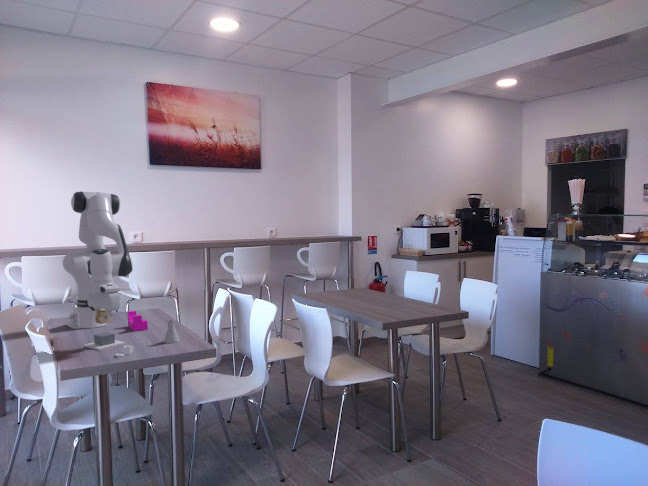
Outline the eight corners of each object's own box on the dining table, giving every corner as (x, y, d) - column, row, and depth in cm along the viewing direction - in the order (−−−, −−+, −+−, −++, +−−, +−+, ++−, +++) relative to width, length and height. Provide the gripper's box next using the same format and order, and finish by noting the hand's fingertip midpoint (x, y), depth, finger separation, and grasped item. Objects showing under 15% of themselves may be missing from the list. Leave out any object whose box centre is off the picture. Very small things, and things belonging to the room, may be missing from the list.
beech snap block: (95, 322, 224) (95, 311, 224) (106, 320, 228) (105, 309, 228) (101, 323, 221) (101, 312, 221) (112, 321, 225) (112, 310, 225)
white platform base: (84, 346, 224) (83, 335, 224) (110, 340, 234) (109, 329, 233) (99, 351, 217) (98, 339, 216) (125, 344, 226) (124, 333, 226)
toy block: (147, 330, 254) (147, 315, 254) (134, 331, 251) (133, 316, 251) (140, 324, 267) (140, 310, 267) (128, 326, 264) (127, 311, 263)
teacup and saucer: (115, 360, 204) (114, 350, 204) (115, 355, 211) (114, 345, 211) (138, 357, 207) (138, 347, 207) (137, 352, 215) (137, 342, 214)
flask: (164, 345, 224) (164, 322, 223) (161, 341, 231) (160, 319, 230) (181, 343, 227) (181, 320, 227) (178, 339, 234) (177, 317, 233)
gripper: (82, 286, 227) (84, 317, 228) (108, 289, 215) (109, 322, 216) (96, 284, 232) (98, 314, 233) (122, 287, 220) (123, 319, 221)
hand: (104, 318), depth 224 cm, fingers closed on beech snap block, 5 cm apart
